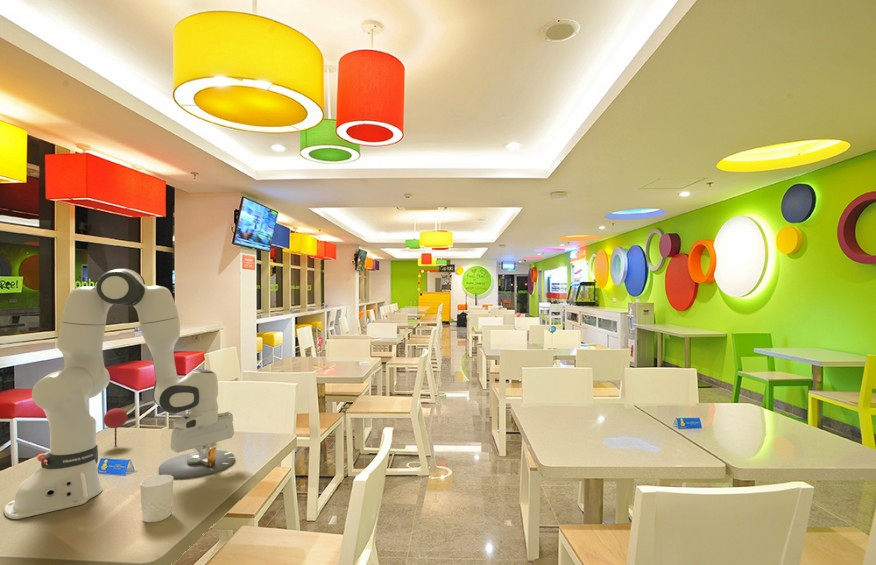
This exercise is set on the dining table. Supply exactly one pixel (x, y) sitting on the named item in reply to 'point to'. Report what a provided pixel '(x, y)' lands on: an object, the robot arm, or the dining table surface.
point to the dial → (209, 461)
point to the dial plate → (195, 466)
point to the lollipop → (115, 419)
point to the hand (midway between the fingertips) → (203, 457)
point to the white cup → (156, 497)
